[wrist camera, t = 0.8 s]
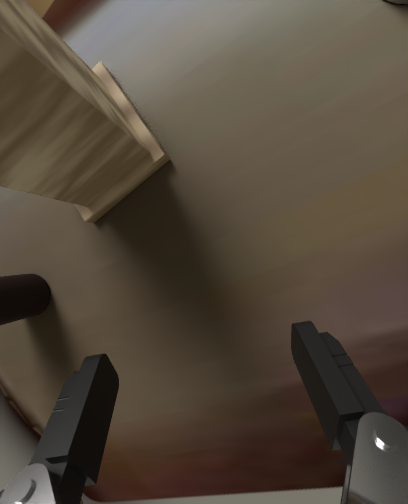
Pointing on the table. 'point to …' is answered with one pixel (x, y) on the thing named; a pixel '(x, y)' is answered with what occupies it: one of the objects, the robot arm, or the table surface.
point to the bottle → (22, 297)
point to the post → (66, 121)
